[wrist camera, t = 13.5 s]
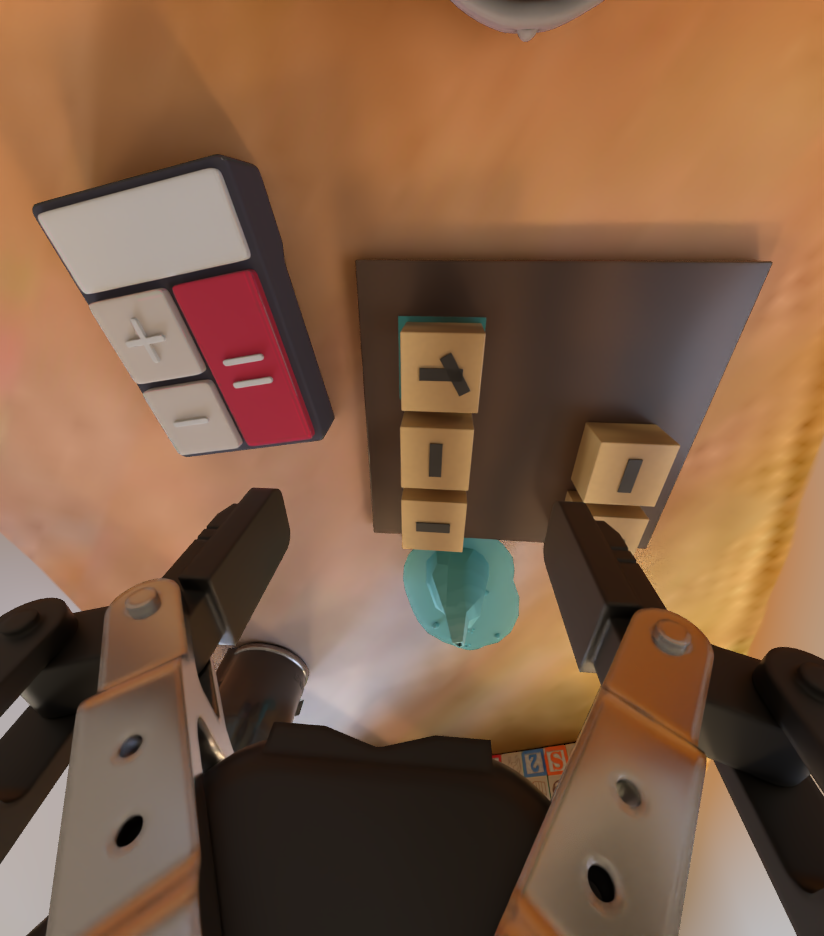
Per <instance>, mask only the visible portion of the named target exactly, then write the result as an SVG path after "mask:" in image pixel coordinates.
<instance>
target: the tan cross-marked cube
mask: <svg viewBox="0 0 824 936" xmlns="http://www.w3.org/2000/svg"><path fill="white" fill-rule="evenodd" d="M485 338H486V333H485V331H484V329H483V326H482V324H481V323H443V322H406V323H405V325H404V327H403V329H402V330H401V332H400V351H401V410H402V411H426V412H455V413H478V407H479V397H480V387H481V377H482V367H483V357H484V347H485Z"/></svg>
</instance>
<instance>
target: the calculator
mask: <svg viewBox="0 0 824 936" xmlns="http://www.w3.org/2000/svg"><path fill="white" fill-rule="evenodd" d="M32 210H33V214H34V216H35V218H36V220H37V221H38V223H39V225H40V226H41V228H42V230H43V231H44V233H45V234H46V236H47V238H48V239H49V241H50V243H51V244H52V246H53V248H54V249H55V251H56V252H57V254H58V256H59V257H60V259H61V261H62V262H63V264H64V266H65V267H66V269H67V270H68V272H69V274H70V275H71V277H72V279H73V280H74V282H75V283H76V285H77V287H78V288H79V290H80V292H81V293H82V295H83V297H84V298H85V300H86V301H87V303H88V305H89V308H90V310H91V312H92V314H93V315H94V317H95V319H96V320H97V322H98V324H99V325H100V327H101V328H102V330H103V332H104V333H105V335H106V337H107V338H108V340H109V341H110V343H111V345H112V346H113V348H114V350H115V351H116V353H117V355H118V356H119V358H120V359H121V361H122V363H123V364H124V366H125V368H126V369H127V371H128V372H129V374H130V376H131V377H132V379H133V380H134V381H135V382H136V383H137V385H138V386H139V388H140V390H141V391H142V393H143V396H144V398H145V400H146V402H147V403H148V405H149V407H150V408H151V410H152V411H153V413H154V415H155V416H156V418H157V420H158V421H159V423H160V424H161V426H162V428H163V429H164V431H165V433H166V434H167V436H168V438H169V439H170V441H171V442H172V444H173V446H174V447H175V449H176V450H177V452H178V453H179V454H181V455H182V456H185V457H191V456H199V455H207V454H215V453H223V452H231V451H239V450H247V449H255V448H263V447H271V446H279V445H287V444H295V443H303V442H311V441H319V440H322V439H323V438H324V436H325V435H326V433H327V431H328V429H329V428H330V426H331V424H332V422H333V420H334V414H333V411H332V407H331V404H330V401H329V398H328V395H327V392H326V389H325V386H324V383H323V380H322V376H321V373H320V370H319V367H318V364H317V361H316V358H315V355H314V352H313V349H312V346H311V342H310V339H309V336H308V333H307V330H306V327H305V324H304V321H303V318H302V315H301V312H300V308H299V305H298V302H297V299H296V296H295V293H294V290H293V287H292V284H291V281H290V278H289V274H288V271H287V268H286V265H285V261H284V253H283V244H282V240H281V237H280V234H279V231H278V228H277V224H276V221H275V218H274V215H273V212H272V209H271V206H270V202H269V199H268V196H267V193H266V190H265V187H264V184H263V180H262V177H261V174H260V172H259V170H258V168H257V167H256V166H255V165H253V164H250V163H247V162H244V161H241V160H237V159H234V158H230V157H227V156H224V155H219V154H216V155H212V156H208V157H204V158H201V159H197V160H193V161H190V162H186V163H182V164H179V165H175V166H171V167H168V168H164V169H160V170H157V171H153V172H150V173H146V174H142V175H139V176H135V177H131V178H128V179H124V180H120V181H117V182H113V183H109V184H106V185H102V186H99V187H95V188H91V189H88V190H84V191H80V192H77V193H73V194H69V195H66V196H62V197H58V198H55V199H51V200H47V201H44V202H40V203H37V204H35V205H34V206H33V209H32Z"/></svg>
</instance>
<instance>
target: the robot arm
mask: <svg viewBox="0 0 824 936" xmlns="http://www.w3.org/2000/svg"><path fill="white" fill-rule="evenodd" d="M289 541H290V527H289V523H288V518H287V514H286V509H285V505H284V500H283V496H282V493H281V491H280V490H279V489H271V488H252V489H250V490H249V491H248V493H247V494H246V495H245V496H244V497H243V499H242V500H241V501H240V502H239V503H238V504H232V505H231V506H229V507H228V508H226V509H225V510H223V511H221V512H220V513H218V514H217V515H216V516H215V518H214V519H213V520H212V521H211V522H210V523H209V524H208V526H207V529H204V530H203V531H202V532H201V534H200V535H199V536H198V539H197V540H196V539H195V540H194V542H193V543H192V544H191V545H190V546H189V547H188V548H187V550H186V551H185V552H184V553H183V554H182V555H181V556H180V558H179V559H178V560H177V561H176V562H175V563H174V565H173V566H172V567H171V568H170V569H169V570H168V571H167V573H166V574H165V575H164V576H163V577H162V578H160V579H153V580H148V581H145V582H142V583H140V584H137V585H135V586H133V587H131V588H130V589H128V590H126V591H125V592H123V593H122V594H121V595H119V596H118V597H117V598H116V599H115V600H114V601H113V602H112V603H111V604H110V606H107V607H102V608H97V609H91V610H86V611H81V612H76V613H72V612H71V610H70V609H69V607H68V606H67V605H66V603H65V602H64V601H63V600H61V599H58V598H44V599H39V600H35V601H32V602H29V603H26V604H24V605H21V606H19V607H17V608H15V609H13V610H11V611H9V612H7V613H6V614H4V615H2V616H1V617H0V717H1V716H2V715H3V714H4V712H5V711H6V710H7V709H8V708H9V707H10V706H11V705H12V704H13V702H14V701H15V700H16V699H17V698H18V697H19V696H20V695H21V696H22V697H23V698H24V699H25V700H26V701H27V702H28V703H29V704H30V706H29V707H28V708H27V709H26V710H25V711H24V713H23V714H22V715H21V716H20V717H19V718H18V720H17V721H16V722H15V723H14V724H13V725H12V726H11V728H10V729H9V730H8V731H7V732H6V733H5V735H4V736H3V737H2V738H1V739H0V864H1V862H2V861H3V859H4V858H5V856H6V855H7V853H8V852H9V850H10V849H11V848H12V846H13V845H14V843H15V842H16V840H17V839H18V837H19V836H20V834H21V833H22V832H23V830H24V829H25V827H26V826H27V824H28V822H29V821H30V820H31V818H32V817H33V815H34V814H35V813H36V811H37V810H38V808H39V807H40V805H41V804H42V802H43V801H44V799H45V798H46V797H47V795H48V794H49V792H50V791H51V789H52V788H53V786H54V785H55V783H56V782H57V780H58V779H59V778H60V776H61V775H62V773H63V772H64V770H65V769H66V767H67V766H68V764H69V770H68V777H67V786H66V792H65V799H64V808H63V814H62V822H61V829H60V836H59V844H58V852H57V858H56V865H55V873H54V880H53V887H52V895H51V902H50V909H49V915H48V916H47V917H46V918H45V919H44V920H43V921H42V922H41V923H40V924H38V925H37V926H36V927H35V928H34V929H33V930H32V931H31V932H30V933H29V934H28V935H26V936H678V934H679V927H680V922H681V916H682V910H683V903H684V898H685V891H686V886H687V879H688V873H689V867H690V861H691V855H692V849H693V843H694V837H695V831H696V825H697V819H698V813H699V807H700V801H701V795H702V789H703V783H704V777H705V770H706V757H708V758H710V759H713V760H714V762H715V765H716V767H717V769H718V771H719V773H720V775H721V777H722V779H723V781H724V783H725V785H726V788H727V790H728V792H729V794H730V796H731V798H732V800H733V802H734V804H735V806H736V809H737V810H738V813H739V815H740V817H741V819H742V821H743V823H744V825H745V827H746V830H747V831H748V834H749V836H750V838H751V840H752V842H753V844H754V846H755V848H756V850H757V852H758V855H759V857H760V858H761V861H762V863H763V865H764V867H765V869H766V871H767V874H768V876H769V878H770V880H771V882H772V884H773V886H774V888H775V890H776V892H777V895H778V896H779V899H780V901H781V903H782V905H783V907H784V909H785V911H786V913H787V915H788V917H789V920H790V922H791V923H792V926H793V928H794V930H795V932H796V934H797V936H824V796H823V795H822V793H821V792H820V790H819V789H818V787H817V785H816V784H815V782H814V781H813V779H812V778H811V776H810V774H811V775H812V776H813V778H814V779H815V781H816V782H817V784H818V785H819V787H820V788H821V790H822V791H823V793H824V660H823V659H821V658H819V657H817V656H815V655H813V654H810V653H807V652H805V651H802V650H798V649H795V648H789V647H778V648H774V649H772V650H770V651H769V652H768V653H767V654H766V656H765V657H764V658H763V659H762V660H758V659H755V658H752V657H749V656H746V655H743V654H739V653H736V652H733V651H730V650H727V649H723V648H720V647H717V646H715V645H712V644H710V642H709V641H708V639H707V637H706V636H705V635H704V634H703V633H702V632H701V631H700V630H699V629H698V628H697V627H696V626H695V625H694V624H692V623H691V622H690V621H688V620H687V619H685V618H683V617H681V616H680V615H678V614H675V613H673V612H671V611H668V610H667V609H666V608H665V606H664V604H663V603H662V601H661V599H660V598H659V596H658V595H657V593H656V591H655V590H654V588H653V587H652V585H651V583H650V582H649V580H648V579H647V577H646V575H645V574H644V572H643V570H642V569H641V567H640V566H639V564H638V563H636V559H635V558H634V556H633V554H632V553H631V551H629V550H628V546H627V545H626V543H625V542H624V540H623V538H622V537H621V535H620V534H619V533H618V532H617V531H616V530H615V529H613V528H612V527H611V526H610V525H609V524H607V523H606V522H605V521H598V520H595V519H594V517H593V515H592V514H591V512H590V510H589V508H588V507H587V505H586V504H585V503H584V502H571V501H555V502H554V504H553V507H552V511H551V515H550V519H549V524H548V528H547V532H546V536H545V541H544V550H543V552H544V561H545V565H546V569H547V572H548V575H549V578H550V581H551V584H552V587H553V590H554V593H555V597H556V600H557V603H558V606H559V609H560V612H561V615H562V618H563V621H564V625H565V628H566V631H567V634H568V637H569V640H570V643H571V646H572V650H573V653H574V656H575V659H576V662H577V665H578V668H579V671H580V672H588V673H597V675H598V678H599V681H600V684H601V686H600V689H599V691H598V693H597V695H596V698H595V700H594V702H593V704H592V707H591V709H590V711H589V714H588V716H587V718H586V720H585V723H584V725H583V727H582V729H581V732H580V734H579V736H578V739H577V741H576V743H575V745H574V748H573V750H572V752H571V754H570V757H569V759H568V761H567V763H566V766H565V768H564V770H563V772H562V775H561V777H560V779H559V781H558V784H557V786H556V788H555V790H554V793H553V795H552V797H551V799H550V800H549V799H548V798H547V797H546V796H545V795H544V794H543V792H542V791H540V790H539V789H538V788H537V787H536V786H535V785H534V784H533V783H532V782H531V781H529V780H528V779H527V778H526V777H524V776H523V775H521V774H520V773H519V772H517V771H516V770H514V769H513V768H511V767H509V766H507V765H506V764H504V763H502V762H500V761H497V760H495V759H492V750H491V740H482V739H470V738H459V737H447V736H431V737H426V738H422V739H417V740H412V741H408V742H403V743H398V744H394V745H389V746H385V747H375V746H372V745H369V744H367V743H365V742H362V741H360V740H358V739H355V738H353V737H350V736H348V735H346V734H343V733H341V732H339V731H336V730H334V729H331V728H329V727H327V726H320V725H308V724H297V723H292V722H293V719H294V716H296V715H299V714H300V710H301V707H302V704H303V701H304V700H303V701H300V698H301V696H302V693H303V690H304V687H305V685H306V683H307V680H308V676H309V671H308V668H307V666H306V664H305V663H304V662H303V661H302V660H301V659H300V658H299V657H298V656H296V655H295V654H293V653H292V652H290V651H288V650H286V649H283V648H281V647H278V646H274V645H270V644H262V643H253V644H247V645H243V646H241V647H239V648H237V649H231V648H229V649H228V651H227V653H226V654H225V656H224V658H223V660H222V662H221V664H220V665H219V667H218V669H217V671H216V670H215V665H214V661H213V658H212V654H213V652H214V650H215V649H216V647H217V645H218V644H221V645H235V646H236V644H237V642H238V640H239V638H240V637H241V635H242V633H243V631H244V629H245V627H246V625H247V623H248V622H249V620H250V618H251V616H252V614H253V612H254V610H255V608H256V607H257V605H258V603H259V601H260V599H261V597H262V595H263V593H264V592H265V590H266V588H267V586H268V584H269V582H270V580H271V579H272V577H273V575H274V573H275V571H276V569H277V567H278V565H279V564H280V562H281V560H282V558H283V556H284V554H285V552H286V550H287V548H288V545H289ZM299 701H300V702H299Z"/></svg>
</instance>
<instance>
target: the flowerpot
mask: <svg viewBox="0 0 824 936" xmlns="http://www.w3.org/2000/svg"><path fill="white" fill-rule="evenodd" d="M450 1H452V2H453V3H454V4H455V5H456V6H457V7H458V8H459V9H460V10H462V11H463V12H464V13H466V14H467V15H468V16H470V17H471V18H473V19H475V20H476V21H478V22H480V23H482V24H484V25H486V26H488V27H490V28H492V29H495V30H497V31H500V32H504V33H515V34H518V36H519V38H520V39H521V40H522V41H523V42H528V41H530V40H531V39H532V38H533V37H534V36H535V34H536V33H538V32H545V31H549V30H551V29H554V28H557V27H559V26H561V25H563V24H565V23H567V22H569V21H571V20H573V19H575V18H577V17H579V16H580V15H582V14H584V13H585V12H587V11H589V10H590V9H592V8H593V7H595V6H597V5H598V4H600V3H601V2H602V1H604V0H450Z"/></svg>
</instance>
